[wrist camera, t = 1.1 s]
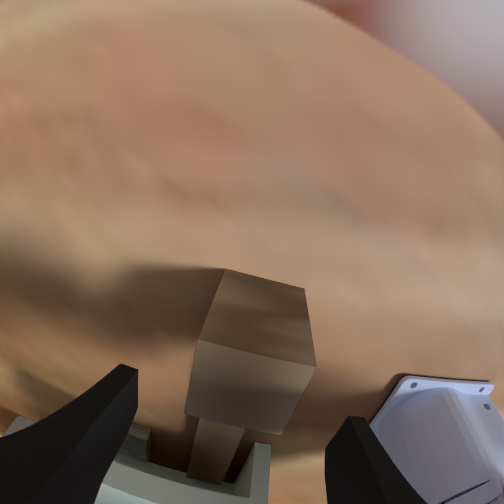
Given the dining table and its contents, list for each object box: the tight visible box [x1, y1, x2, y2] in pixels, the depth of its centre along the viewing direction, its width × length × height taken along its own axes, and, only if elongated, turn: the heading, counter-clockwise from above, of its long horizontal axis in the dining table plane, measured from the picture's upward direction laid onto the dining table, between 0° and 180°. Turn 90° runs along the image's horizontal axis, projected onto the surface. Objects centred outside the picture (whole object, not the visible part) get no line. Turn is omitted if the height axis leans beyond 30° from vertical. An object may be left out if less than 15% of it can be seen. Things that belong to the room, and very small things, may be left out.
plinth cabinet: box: [94, 442, 271, 504], centre depth 18 cm, size 16×9×7 cm, turn 76°
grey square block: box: [118, 423, 151, 463], centre depth 21 cm, size 4×4×2 cm
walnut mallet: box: [184, 269, 316, 485], centre depth 16 cm, size 4×20×6 cm, turn 166°
